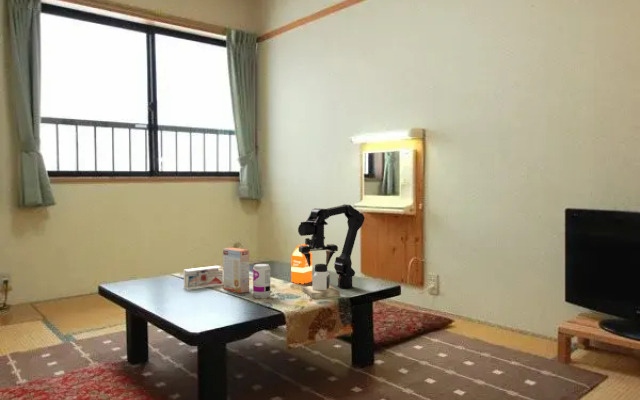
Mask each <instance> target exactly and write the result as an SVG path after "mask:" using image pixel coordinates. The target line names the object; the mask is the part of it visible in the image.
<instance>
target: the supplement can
mask: <svg viewBox="0 0 640 400" xmlns="http://www.w3.org/2000/svg"><path fill="white" fill-rule="evenodd" d="M252 285H253V286H252V296H253V297H254V298H256V299H267V298H269V297H270V296H271V266H270V264H268V263H256V264H253V268H252Z"/></svg>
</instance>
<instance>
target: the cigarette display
mask: <svg viewBox="0 0 640 400" xmlns="http://www.w3.org/2000/svg"><path fill="white" fill-rule="evenodd" d="M219 269H222V270H219ZM215 286H223V267H222V266H221V265H211V266H204V267H203V266H202V267H195V268H186V269H185V268H184V269H183V289H184V288H185V289H187V290H194V289H201V288H207V287H208V288H209V287H215Z"/></svg>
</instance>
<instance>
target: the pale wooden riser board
mask: <svg viewBox="0 0 640 400" xmlns="http://www.w3.org/2000/svg"><path fill="white" fill-rule="evenodd" d="M301 291H302V293H303V292H304V294H305V295H306V294H307V295H306V296H307V297H309V296H310V297H309V298H310V299H321V297H323V298H332V297H333V296H334V297H340V295H341V293H340V290H339V289H338V288H336V287H334V286H332V285H330V287H329V288H328V290H327V291H324V290H313V289H312V285H309V286H302V290H301Z"/></svg>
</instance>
